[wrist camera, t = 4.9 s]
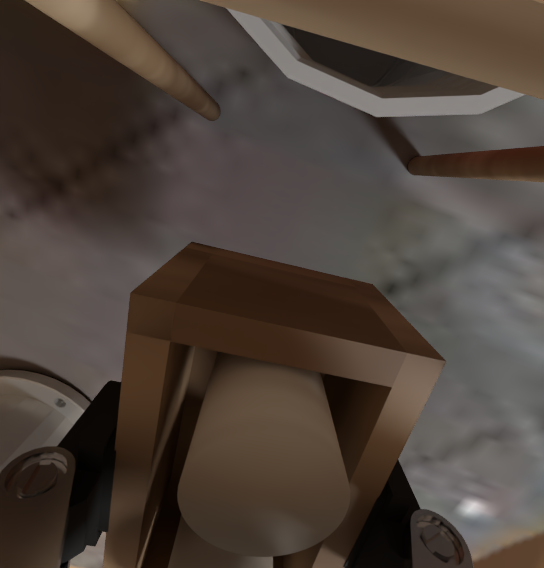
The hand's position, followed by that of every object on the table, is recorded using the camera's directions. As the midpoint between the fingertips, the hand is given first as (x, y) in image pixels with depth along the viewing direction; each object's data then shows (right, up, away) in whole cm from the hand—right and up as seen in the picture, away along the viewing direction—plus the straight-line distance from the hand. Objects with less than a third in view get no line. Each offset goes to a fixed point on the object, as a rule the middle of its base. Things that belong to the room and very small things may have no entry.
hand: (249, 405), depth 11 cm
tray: (0, 0, +1) cm, 1 cm away
